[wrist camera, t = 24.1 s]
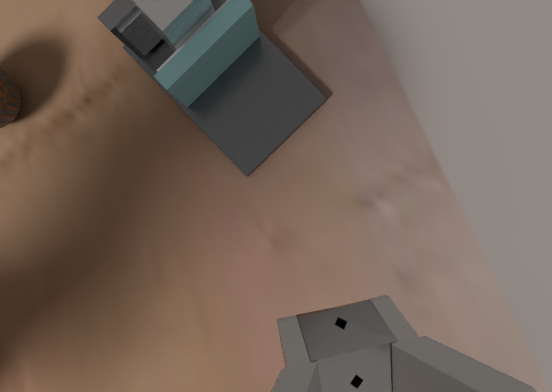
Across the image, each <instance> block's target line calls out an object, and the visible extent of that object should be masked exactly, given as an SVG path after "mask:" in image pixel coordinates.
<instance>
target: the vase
mask: <svg viewBox="0 0 552 392" xmlns="http://www.w3.org/2000/svg"><path fill="white" fill-rule="evenodd" d="M20 107H21V96H20V92H19V89H18V87H17V85H16V83H15V82H14V81H13V79H12V78H11V77H10V76H9V75H8V74H7V73H6V72H5V71H3V70H2V69H1V68H0V128H2V127H4V126H6V125H8V124H9V123H10V122H12V121H13V120H14V119H15V117H16V116H17V115H18V113H19V110H20Z"/></svg>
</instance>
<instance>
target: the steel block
mask: <svg viewBox="0 0 552 392" xmlns="http://www.w3.org/2000/svg"><path fill="white" fill-rule="evenodd" d="M131 1H132V2H133V4H134V5H135V6H136V7H137V8H138V10H139V11H140V12H141V13H142V15H143V16H144V17H145V18H146V19H147V21H148V22H149V23H150V24H151V25H152V27H153V28H154V29H155V30H156V32H157V33H158V34H159V35H160V36H161V38H162V39H163V40H164V41H165V42H166V43H167V44H168V45H169V46H170V47H171V48H172V50H173V51H174V52H175V51H176V50H177V49H178V48H179V47H180V46H181V45H182V44H183V43H184V42H185V41H186V40H187V39H188V38H189V37H190V36H191V35H192V34H194V33H195V32H196V31H197V30H198V29H199V28H200V27H201V26H202V25H203V24H204V23H205V22H206V21H207V20H208V19H209V18H210V17H211V16H212V15H213V14H214V13H215V10H214V7H213V5H212V2H211V0H131Z"/></svg>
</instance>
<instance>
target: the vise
mask: <svg viewBox="0 0 552 392" xmlns="http://www.w3.org/2000/svg"><path fill="white" fill-rule="evenodd" d="M226 1H227V0H211V2H212V5H213V7H214V10H215V12H216V11H217V10H218V9H219V8H220V7H221V6H222V5H223V4H224V3H225V2H226ZM97 18H98V19H99V20H100V21H101V22H102V23H103V24H104V25H105V26H106V27H107V28H108V29H109V30H110V31H111V32H112V33H113V34H114V35H115V36H116V37H117V38H118V39H120V40H121V41H122V42H123V43H124V44H125V46H124V47H123V48H124V49H125V50H126V51H127V52H128V53H129V54H130V55H131V56H132V57H133V58H134V59H135V61H136V62H137V63H138V64H139V65H140V66H141V67H142V68H143V69H144V70H145V71H146V72H147V73H148V74H149V75H150V76H151V77H152V78H153V79H154V80H155V81H156V82H157V83H158V84H159V86H160V87H161V88H162V89H163V90H164V91H165V92H166V93H167V94H168V95H169V96H170V97H171V98H172V99H173V100H174V101H175V102H176V103H177V104H178V105H179V106H180V107H181V108H182V109H183V111H184V112H185V113H186V114H187V115H188V116H189V117H190V118H191V119H192V120H193V121H194V122H195V123H196V124H197V125H198V126H199V127H200V128H201V129H202V130H203V131H204V132H205V133H206V134H207V136H208V137H209V138H210V139H211V140H212V141H213V142H214V143H215V144H216V145H217V146H218V147H219V148H220V149H221V150H222V151H223V152H224V153H225V154H226V155H227V156H228V157H229V158H230V160H231V161H232V162H233V163H234V164H235V165H236V166H237V167H238V168H239V169H240V170H241V171H242V172H243V173H244V174H245V175H246V176H247V177H248V176H249V175H250V174H251V173H252V172H253V171H254V170H255V169H256V168H257V167H258V166H259V165H260V164H262V163H263V162H264V161H265V160H266V159H267V158H268V157H269V156H270V155H271V154H272V153H273V152H274V151H275V150H276V149H277V148H278V147H279V146H280V145H281V144H282V143H283V142H284V141H285V140H286V139H287V138H288V137H289V136H290V135H291V134H292V133H294V132H295V131H296V130H297V129H298V128H299V127H300V126H301V125H302V124H303V123H304V122H305V121H306V120H307V119H308V118H309V117H310V116H311V115H312V114H313V113H314V112H315V111H316V110H317V109H318V108H319V107H320V106H321V105H322V104H323V103H325V102H326V100H327V98H326V97H325V96H324V95H323V94H322V93H321V92H320V90H319V89H318V88H317V87H316V86H315V85H314V84H313V83H312V82H311V81H310V80H309V79H308V78H307V77H306V76H305V75H304V74H303V73H302V72H301V71H300V70H299V69H298V68H297V67H296V66H295V65H294V64H293V63H292V62H291V61H290V60H289V59H288V58H287V57H286V56H285V55H284V54H283V53H282V52H281V51H280V50H279V49H278V47H277V46H276V45H275V44H274V43H273V42H272V41H271V40H270V39H269V38H268V37H267V36H266V35H265V34H264V33H263V32H262V31H261V30H260V29H259V28H258V29H259V35H260V37H259V38H258V39H257V40H256V41H255V42H254V43H253V44H252V45H251V46H250V47H249V48H248V49H247V50H246V51H245V52H243V53H242V54H241V55H240V56H239V57H238V58H237V59H236V60H235V61H234V62H233V63H232V64H231V65H230V66H229V67H228V68H227V69H226V70H225V71H224V72H223V73H222V74H221V75H220V76H219V77H218V78H217V79H216V80H215V81H214V82H213V83H212V84H211V85H210V86H209V87H208V88H207V89H206V90H205V91H204V92H203V93H202V94H201V95H200V96H199V97H198V98H197V99H196V100H195V101H194V102H193V103H192V104H191V105H190V106H189V107H188V108H187V107H186V106H185V105H184V104H183V103H182V102H180V101H179V100H178V99H177V98H176V97H175V96H173V95H172V94H171V93H170V92H169V91H167V90H166V89H165V88H164V87H163V85H162V84H161V83H160V82H159V81H158V80H157V79H156V78H155V77H154V75H155V74H156V73H157V72H158V71H157V69H158V68H159V67H160V66H161V65H162V64H163V63H164V62H165V61H166V60H167V59H168V58H169V57H170V56H171V55H172V54H173V53H174V51H173V50H172V48H171V47H170V46H169V45H168V44H167V43H166V42H165V41H164V40H163V39H162V38H161V36H160V35H159V34H158V33H157V32H156V30H155V29H154V28H153V27H152V25H151V24H150V23H149V22H148V21H147V19H146V18H145V17H144V16H143V15H142V13H141V12H140V11H139V10H138V8H137V7H136V6H135V5H134V4H133V2H132V1H131V0H114V1H113V2H112V3H111V4H110V5H109V6H108V7H107V8H106V9H105V10H104V11H103V12H102V13H101V14H100V15H99V16H98V17H97Z"/></svg>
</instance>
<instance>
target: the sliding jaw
mask: <svg viewBox="0 0 552 392" xmlns="http://www.w3.org/2000/svg"><path fill="white" fill-rule="evenodd" d="M259 37H260V35H259V29H258V24H257V19H256V14H255V9H254V4H253V3H252V2H251V1H250V0H227V1H226V2H225V3H224V4H223V5H222V6H221V7H220V8H219V9H218V10H217V11H216V12H215V13H214V14H213V15H212V16H211V17H210V18H209V19H208V20H207V21H206V22H205V23H204V24H203V25H202V26H201V27H200V28H199V29H198V30H197V31H196V32H195V33H194V34H192V35H191V36H190V37H189V38H188V39H187V40H186V41H185V42H184V43H183V44H182V45H181V46H180V47H179V48H178V49H177V50H176V51H175V52H174V53H173V54H172V55H171V56H170V57H169V58H168V59H167V60H166V61H165V62H164V63H163V64H162V65H161V66H160V67H159V68H158V69H157V71H158V72H157V73H156V74H155V75H154V77H155V78H156V79H157V80H158V81H159V82H160V83H161V84H162V85H163V87H164V88H165V89H166V90H167V91H169V92H170V93H171V94H172V95H173V96H175V97H176V98H177V99H178V100H179V101H180V102H182V103H183V104H184V105H185V106H186V107H187V108H188V107H189V106H190V105H191V104H192V103H193V102H194V101H195V100H196V99H197V98H198V97H199V96H200V95H201V94H202V93H203V92H204V91H205V90H206V89H207V88H208V87H209V86H210V85H211V84H212V83H213V82H214V81H215V80H216V79H217V78H218V77H219V76H220V75H221V74H222V73H223V72H224V71H225V70H226V69H227V68H228V67H229V66H230V65H231V64H232V63H233V62H234V61H235V60H236V59H237V58H238V57H239V56H240V55H241V54H242V53H243V52H245V51H246V50H247V49H248V48H249V47H250V46H251V45H252V44H253V43H254V42H255V41H256V40H257V39H258V38H259Z"/></svg>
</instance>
